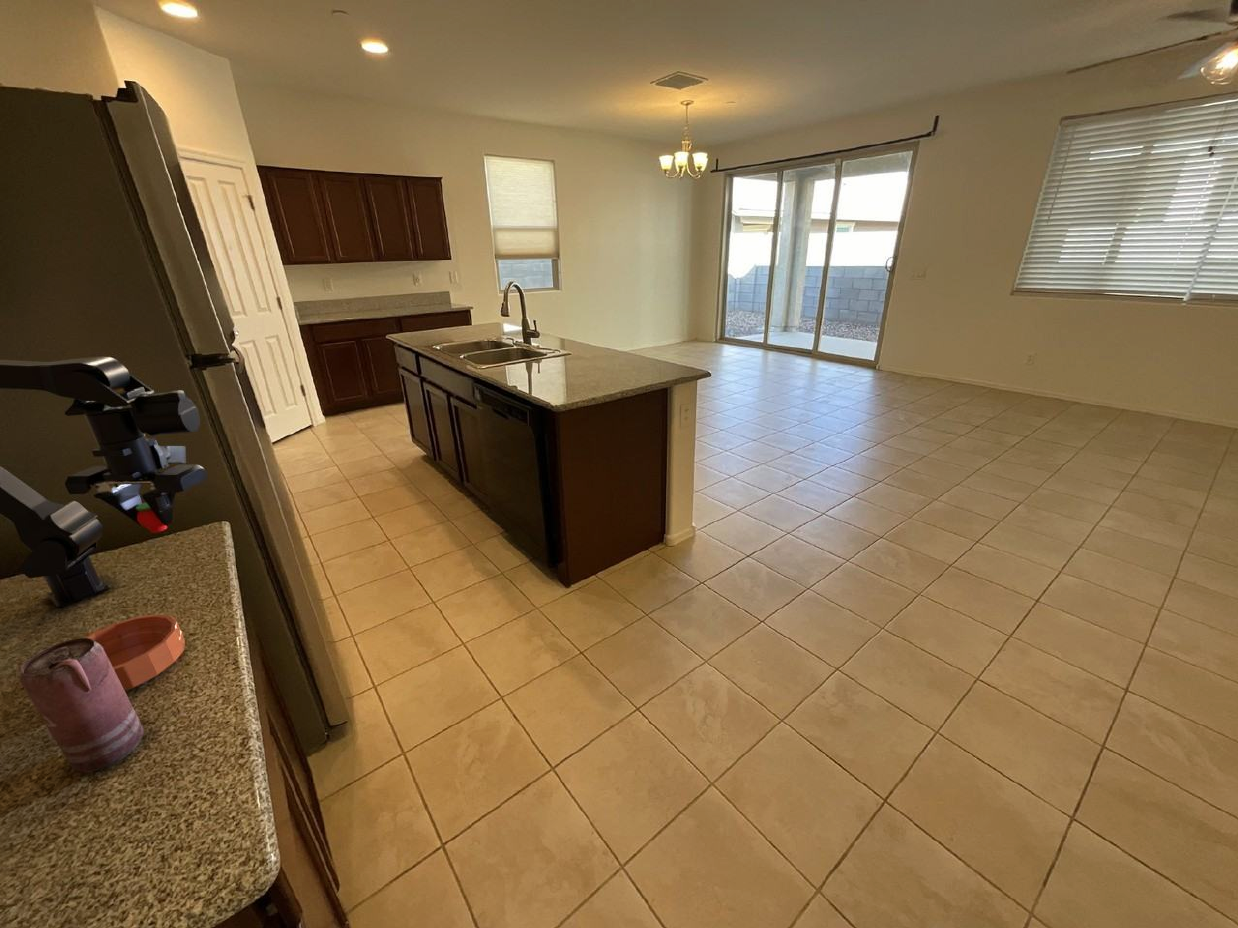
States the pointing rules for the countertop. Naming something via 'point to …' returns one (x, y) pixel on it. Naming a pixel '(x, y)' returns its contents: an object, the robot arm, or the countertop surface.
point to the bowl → (141, 647)
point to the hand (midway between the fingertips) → (156, 524)
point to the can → (82, 703)
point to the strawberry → (149, 519)
